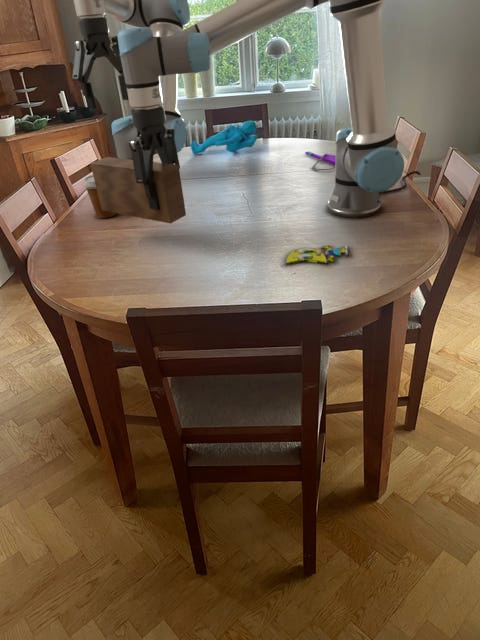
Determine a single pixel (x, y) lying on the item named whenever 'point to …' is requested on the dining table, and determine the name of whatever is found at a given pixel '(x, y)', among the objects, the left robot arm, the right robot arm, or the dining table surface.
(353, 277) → the dining table surface
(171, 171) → the box
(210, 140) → the toy
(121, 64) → the left robot arm
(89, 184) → the disposable coffee cup
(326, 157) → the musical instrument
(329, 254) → the toy
